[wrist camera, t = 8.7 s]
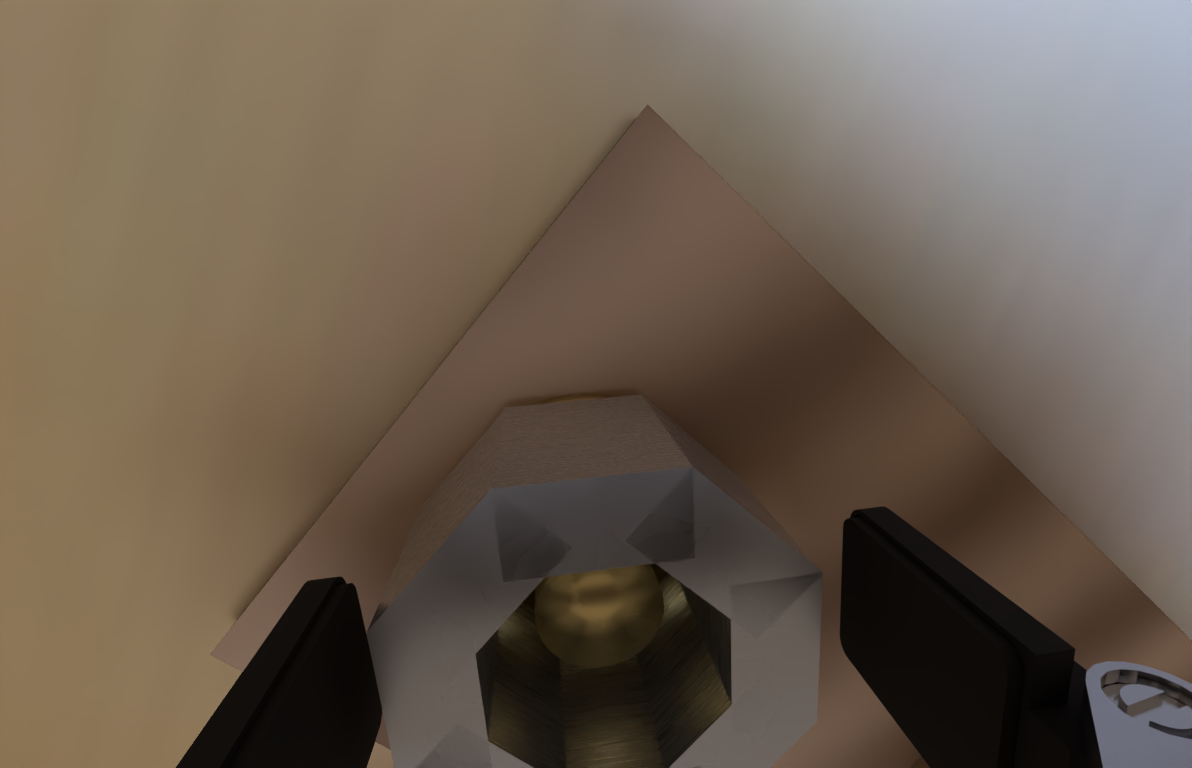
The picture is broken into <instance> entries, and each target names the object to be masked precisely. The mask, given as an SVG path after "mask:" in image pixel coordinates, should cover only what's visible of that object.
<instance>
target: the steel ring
mask: <svg viewBox="0 0 1192 768" xmlns="http://www.w3.org/2000/svg"><path fill="white" fill-rule="evenodd" d="M653 563H655V564H657V565H658V566H659V567H661V568H662V569H664V570H665V571H666V572H668V574H667V575H666V576H665V577H664V578H663V579H662V580H661V581H660V582H659V585H660V588H661V591H662V594H663V599H664V613H663V619H662V622H661V625H660V627H659V629H658V632H657V633H656V635H655V636H654V638H653V639H652V640H651V642H650V643H649V644H648V645H647V646H646V647H645V648H644V649H643V650H642V651H640V652H639V653H638V654H636V655H635V656H633V657H631V658H630V659H628V660H626V661H623V662H621V663H618V664H615V665H611V666H606V667H583V666H578V665H574V664H571V663H568V662H566V661H564V660H562V659H560V658H559V657H557V656H556V655H555V654H553V653H552V652H551V651H550V650H549V649H548V648H547V647H546V646H545V644H544V643H543V641H542V640H541V638H540V636H539V634H538V631H537V628H536V623H535V611H534V610H532V609H531V608H529V607H528V606H526V605H525V604H523V603H522V602H523V601H524V600H525V599H526V598H527V597H528V595H529V594H530V593H531V592H532V591H533V590H534V589H535V588H536V587H537V586H538V584H539V583H540V582H541V581H542V580H543V579H544V578H545V577H549V576H557V575H565V574H573V573H581V572H589V571H597V570H605V569H613V568H621V567H629V566H637V565H645V564H653ZM822 583H823V573H822V571H821V570H820V569H819V568H818V567H817V566H816V565H815V564H814V562H813V561H812V560H811V559H810V558H809V557H808V556H807V554H806V553H805V552H804V551H803V550H802V549H801V548H800V546H799V545H798V544H797V543H796V542H795V541H794V540H793V538H792V537H791V536H790V535H789V534H788V533H787V532H786V531H785V529H784V528H783V527H782V526H781V525H780V524H779V523H778V521H777V520H776V519H775V518H774V517H773V516H772V515H771V513H770V512H769V511H768V510H767V509H766V508H765V507H764V505H763V504H762V503H761V502H760V501H759V500H758V499H757V498H756V496H755V495H754V494H753V493H752V492H751V491H750V490H749V488H748V487H747V486H746V485H745V484H744V483H743V482H742V480H741V479H740V478H739V477H738V476H737V475H736V474H735V472H734V471H732V470H731V469H730V468H729V467H728V466H726V465H725V464H724V463H723V462H722V461H720V460H719V459H718V458H717V457H716V456H714V455H713V454H712V453H711V452H710V451H708V450H707V449H706V448H705V447H704V446H702V445H701V444H700V443H699V442H698V441H696V440H695V439H694V438H693V437H692V436H690V435H689V434H688V433H687V432H686V431H684V430H683V429H682V428H681V427H680V426H678V425H677V424H676V423H675V422H674V421H672V420H671V419H670V418H669V417H668V416H667V415H665V414H664V413H663V412H662V411H661V410H659V409H658V408H657V407H656V406H655V405H653V404H652V403H651V402H650V401H649V400H647V399H646V398H645V397H644V396H643V395H641V394H638V395H628V396H618V397H608V398H597V399H587V400H577V401H567V402H557V403H546V404H536V405H526V406H516V407H506V408H505V409H504V410H503V411H502V412H501V413H500V414H499V416H498V417H497V418H496V419H495V420H494V422H493V423H492V424H491V425H490V426H489V427H488V429H487V430H486V431H485V432H484V433H483V434H482V436H481V437H480V438H479V439H478V440H477V442H476V443H475V444H474V445H473V446H472V447H471V449H470V450H469V451H468V452H467V453H466V454H465V456H464V457H463V458H462V459H461V460H460V462H459V463H458V464H457V465H456V466H455V467H454V469H453V470H452V471H451V472H450V473H449V475H448V476H447V477H446V478H445V479H444V480H443V482H442V483H441V484H440V485H439V486H438V487H437V489H436V490H435V491H434V492H433V493H432V495H431V496H430V497H429V498H428V499H427V500H426V502H425V503H424V504H423V505H422V506H421V508H420V510H419V512H418V515H417V517H416V519H415V522H414V524H413V526H412V529H411V531H410V533H409V536H408V538H407V540H406V543H405V545H404V547H403V549H402V552H401V554H400V556H399V559H398V561H397V563H396V566H395V568H394V570H393V573H392V575H391V577H390V580H389V582H388V584H387V586H386V589H385V591H384V593H383V596H382V598H381V600H380V603H379V605H378V607H377V610H376V612H375V614H374V616H373V619H372V621H371V623H370V626H369V628H368V630H367V638H368V642H369V647H370V652H371V657H372V662H373V667H374V672H375V676H376V681H377V686H378V691H379V696H380V701H381V705H382V710H383V715H384V720H385V725H386V730H387V734H388V739H389V744H390V749H391V754H392V759H393V763H394V768H770V767H771V766H772V765H773V764H774V763H775V762H776V761H777V760H778V759H779V758H780V757H781V756H782V755H783V754H785V753H786V752H787V751H788V750H789V749H790V748H791V747H792V746H793V745H794V744H795V743H796V742H797V741H798V740H799V739H800V738H801V737H802V736H803V735H804V734H805V733H806V732H807V731H808V730H809V729H810V728H811V727H812V726H813V725H814V724H815V723H817V710H818V685H819V660H820V634H821V609H822Z"/></svg>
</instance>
